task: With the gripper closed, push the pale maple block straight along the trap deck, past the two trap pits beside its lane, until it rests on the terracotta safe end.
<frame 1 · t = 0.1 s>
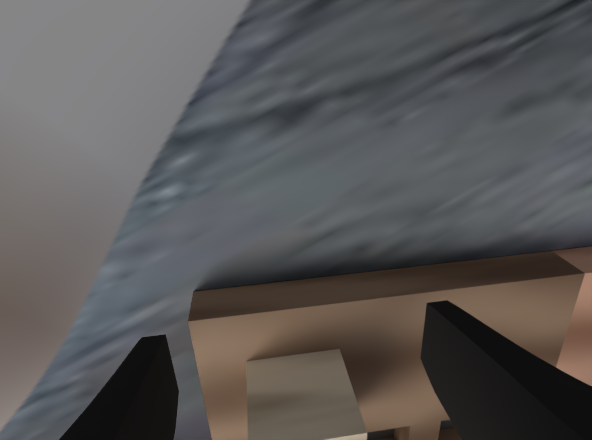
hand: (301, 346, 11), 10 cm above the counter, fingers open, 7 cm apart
trap deck: (426, 367, 26), on the counter
maple block: (295, 389, 22), point 2 cm above the counter, touching trap deck
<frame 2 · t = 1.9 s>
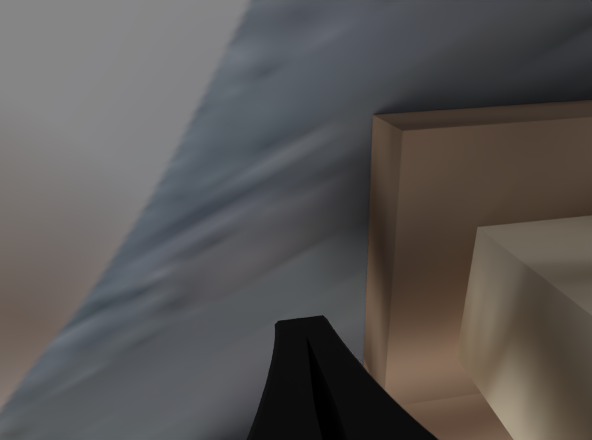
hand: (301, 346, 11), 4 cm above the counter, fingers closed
maple block: (538, 288, 13), point 2 cm above the counter, touching trap deck
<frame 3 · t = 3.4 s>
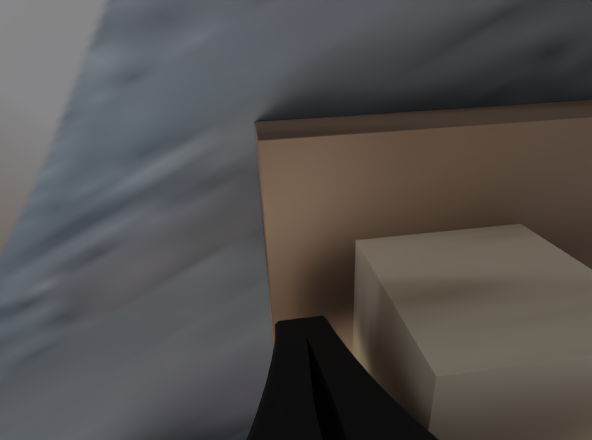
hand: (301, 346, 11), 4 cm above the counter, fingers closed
maple block: (431, 302, 12), point 2 cm above the counter, touching gripper, trap deck
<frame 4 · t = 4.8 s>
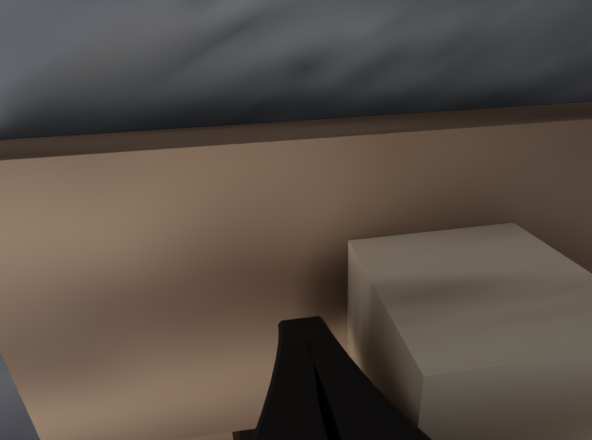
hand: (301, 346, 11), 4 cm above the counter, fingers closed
trap deck: (427, 313, 16), on the counter
maple block: (425, 302, 12), point 3 cm above the counter, touching gripper
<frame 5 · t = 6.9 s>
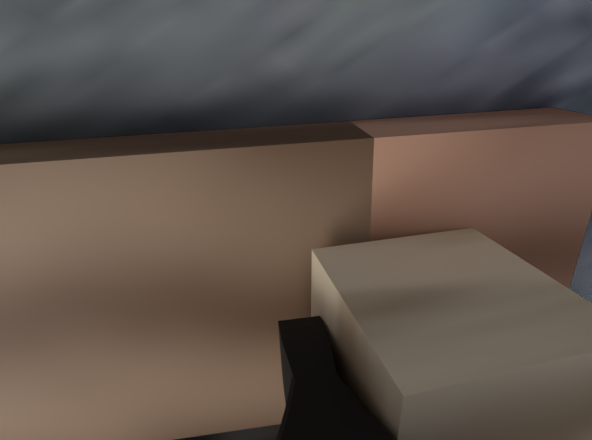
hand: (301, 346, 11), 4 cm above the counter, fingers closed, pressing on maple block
trap deck: (167, 345, 15), on the counter
maple block: (388, 310, 12), point 3 cm above the counter, tilted 7°, touching gripper, trap deck
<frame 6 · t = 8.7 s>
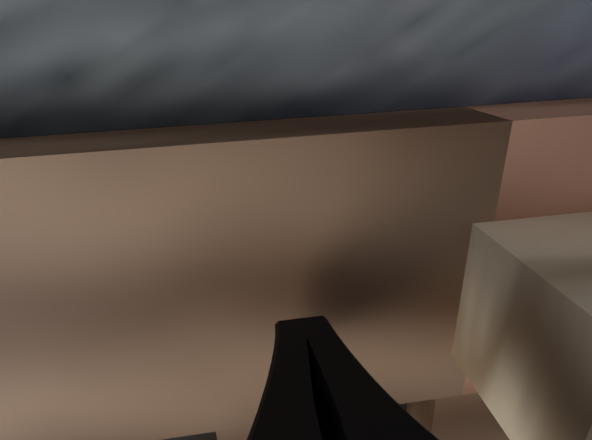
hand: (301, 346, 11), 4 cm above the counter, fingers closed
trap deck: (264, 330, 15), on the counter
maple block: (534, 285, 13), point 2 cm above the counter, touching trap deck
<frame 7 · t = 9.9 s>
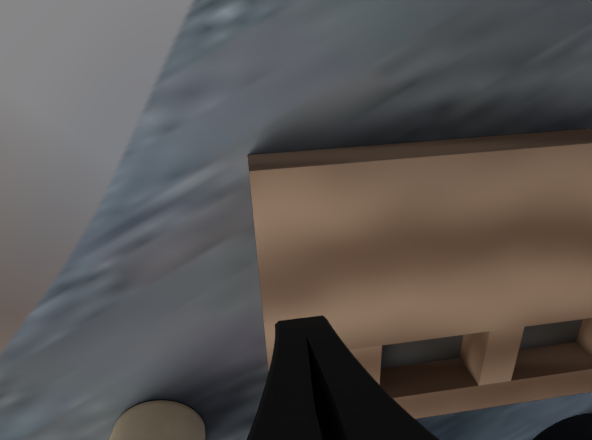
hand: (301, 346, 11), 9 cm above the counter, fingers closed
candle: (161, 428, 25), on the counter
trap deck: (503, 271, 23), on the counter
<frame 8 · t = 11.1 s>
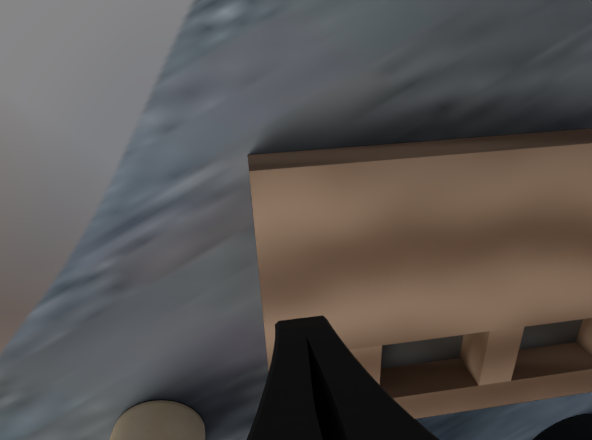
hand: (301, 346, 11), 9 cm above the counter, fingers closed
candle: (161, 428, 25), on the counter
trap deck: (503, 271, 23), on the counter
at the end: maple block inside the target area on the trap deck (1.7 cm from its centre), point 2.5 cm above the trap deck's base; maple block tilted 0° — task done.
